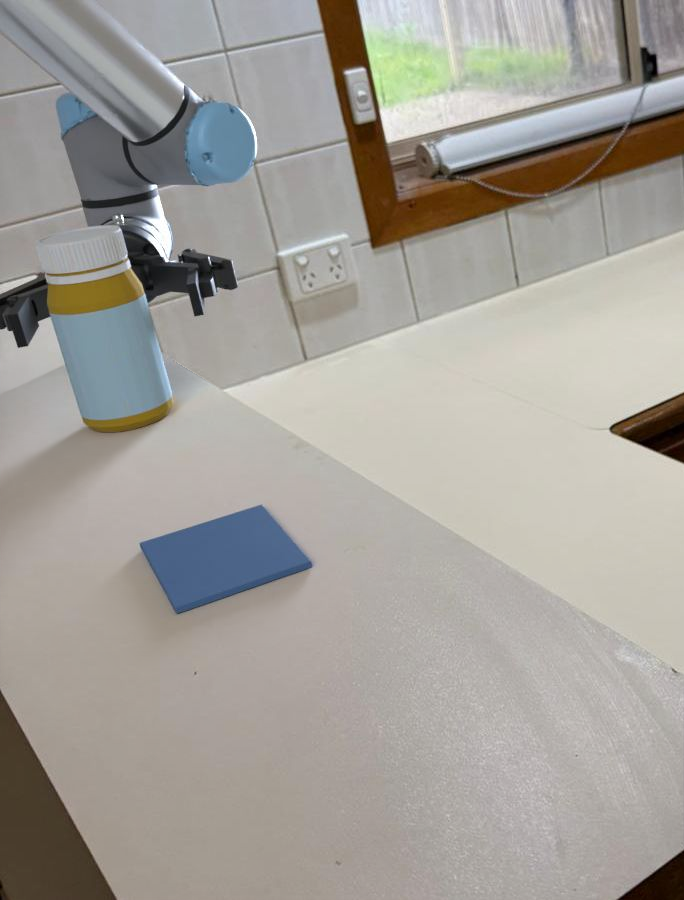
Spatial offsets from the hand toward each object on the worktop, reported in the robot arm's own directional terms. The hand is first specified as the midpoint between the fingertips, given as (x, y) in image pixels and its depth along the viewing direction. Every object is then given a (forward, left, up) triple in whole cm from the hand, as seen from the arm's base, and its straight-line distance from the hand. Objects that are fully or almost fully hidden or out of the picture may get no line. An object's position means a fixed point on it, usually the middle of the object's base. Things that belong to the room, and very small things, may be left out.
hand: (107, 315), depth 92 cm
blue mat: (+29, -18, -8) cm, 35 cm away
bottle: (+2, -2, -8) cm, 9 cm away
